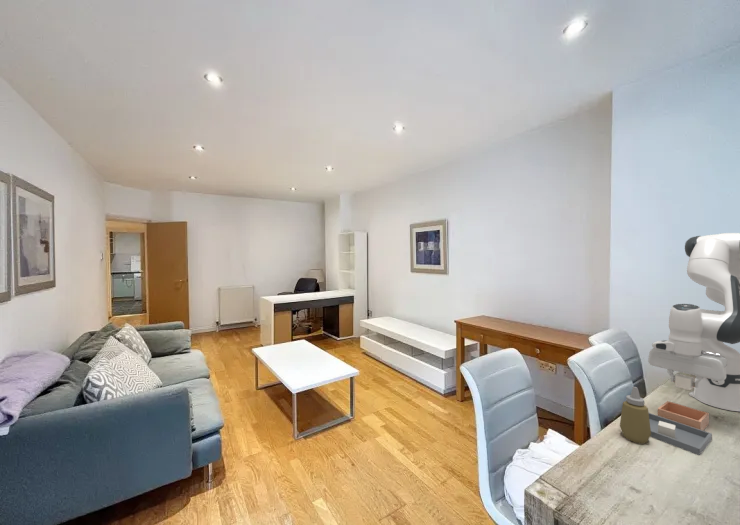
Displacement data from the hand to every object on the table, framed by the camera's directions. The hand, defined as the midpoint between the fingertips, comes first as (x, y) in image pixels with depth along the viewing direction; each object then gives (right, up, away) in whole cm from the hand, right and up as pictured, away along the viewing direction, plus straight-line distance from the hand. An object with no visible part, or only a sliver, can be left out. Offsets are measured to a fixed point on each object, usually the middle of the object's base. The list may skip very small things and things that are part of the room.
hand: (684, 384), depth 113 cm
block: (-17, -14, -10) cm, 24 cm away
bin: (-1, -14, -1) cm, 14 cm away
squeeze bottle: (-28, -15, -11) cm, 33 cm away
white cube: (0, -1, 0) cm, 1 cm away
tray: (-14, -14, -9) cm, 22 cm away
